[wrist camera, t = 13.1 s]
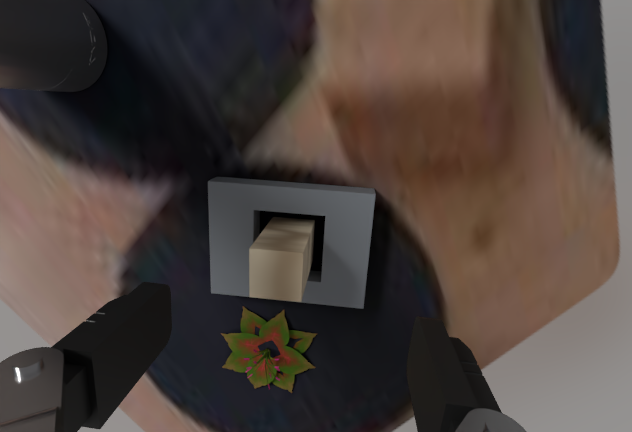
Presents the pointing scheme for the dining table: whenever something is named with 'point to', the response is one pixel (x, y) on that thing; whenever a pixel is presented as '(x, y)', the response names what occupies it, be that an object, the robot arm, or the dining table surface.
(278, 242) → the peg
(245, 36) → the dining table surface
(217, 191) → the dock plate
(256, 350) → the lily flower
